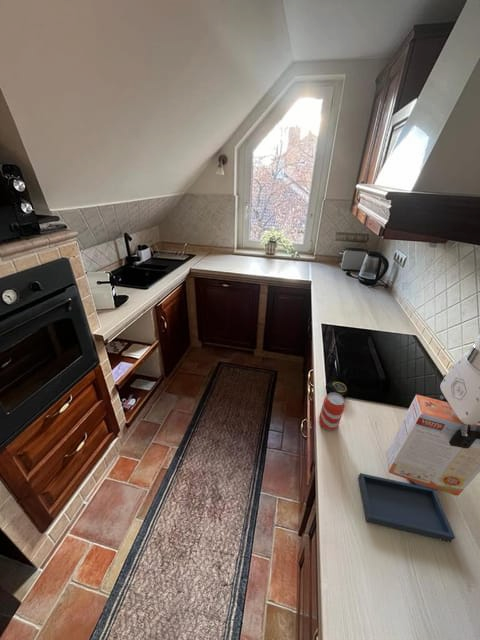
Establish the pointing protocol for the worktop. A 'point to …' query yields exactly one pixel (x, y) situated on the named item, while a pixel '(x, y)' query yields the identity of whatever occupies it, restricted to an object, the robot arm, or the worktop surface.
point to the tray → (404, 507)
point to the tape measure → (337, 388)
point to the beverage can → (331, 411)
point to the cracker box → (433, 448)
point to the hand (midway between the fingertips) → (449, 429)
